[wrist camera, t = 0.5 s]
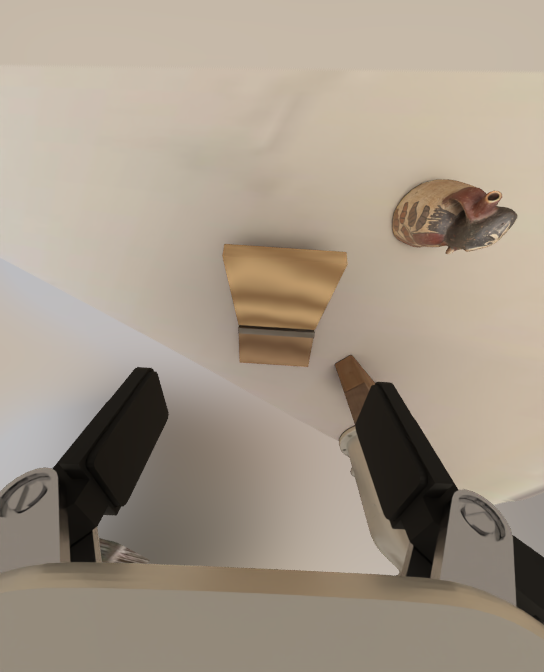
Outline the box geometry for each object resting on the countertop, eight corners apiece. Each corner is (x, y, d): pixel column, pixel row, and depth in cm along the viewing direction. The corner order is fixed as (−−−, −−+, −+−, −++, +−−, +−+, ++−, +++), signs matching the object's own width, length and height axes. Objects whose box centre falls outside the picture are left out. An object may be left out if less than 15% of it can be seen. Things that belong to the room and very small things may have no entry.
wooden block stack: (351, 353, 40) (397, 451, 24) (379, 388, 44) (434, 490, 28) (333, 363, 41) (366, 463, 26) (362, 396, 45) (405, 498, 30)
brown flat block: (307, 360, 41) (308, 367, 39) (240, 356, 40) (239, 362, 39) (313, 327, 37) (314, 332, 35) (240, 322, 37) (238, 327, 35)
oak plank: (314, 321, 36) (314, 329, 35) (239, 316, 36) (238, 324, 35) (346, 252, 22) (347, 264, 21) (224, 244, 22) (222, 255, 21)
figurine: (398, 255, 31) (457, 283, 20) (385, 202, 27) (447, 204, 17) (455, 227, 29) (552, 243, 18) (448, 167, 26) (561, 146, 15)
